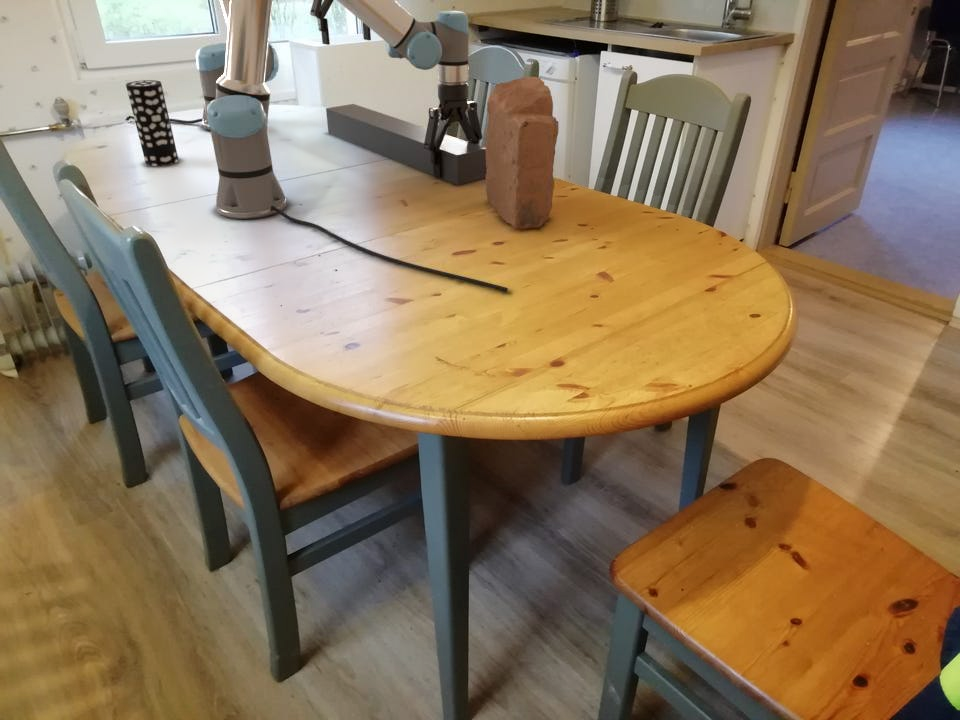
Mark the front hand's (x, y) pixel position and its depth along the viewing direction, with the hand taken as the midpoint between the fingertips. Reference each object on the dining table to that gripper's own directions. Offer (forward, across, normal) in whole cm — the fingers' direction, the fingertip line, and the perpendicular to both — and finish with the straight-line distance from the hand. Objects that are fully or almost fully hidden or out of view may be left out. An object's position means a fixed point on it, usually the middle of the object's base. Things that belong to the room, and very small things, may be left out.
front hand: (454, 172), depth 180 cm
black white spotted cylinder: (-10, +55, -58) cm, 80 cm away
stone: (+1, +6, +31) cm, 32 cm away
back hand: (-26, 0, -48) cm, 55 cm away
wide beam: (+1, 0, -24) cm, 24 cm away
